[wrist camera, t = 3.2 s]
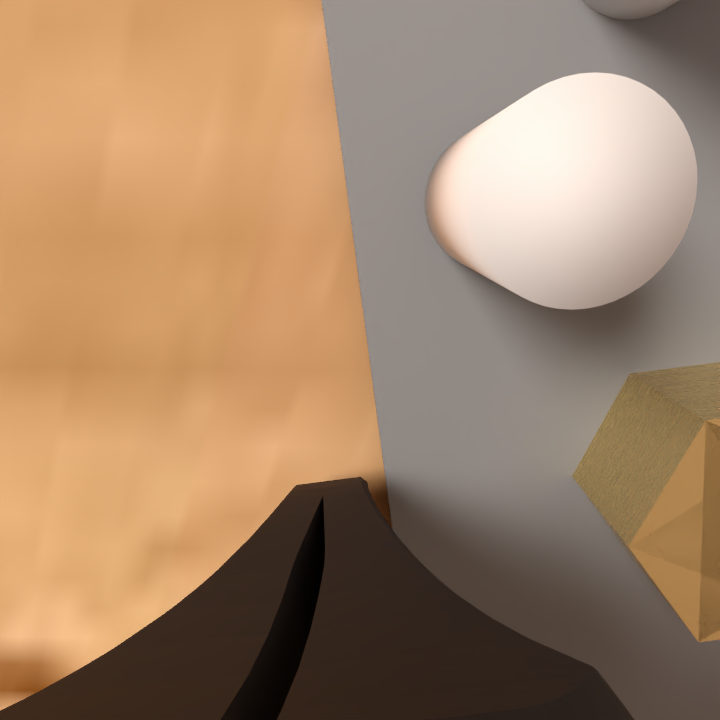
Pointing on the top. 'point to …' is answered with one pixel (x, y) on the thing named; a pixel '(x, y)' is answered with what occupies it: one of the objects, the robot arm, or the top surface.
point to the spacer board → (515, 354)
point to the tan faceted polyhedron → (665, 485)
